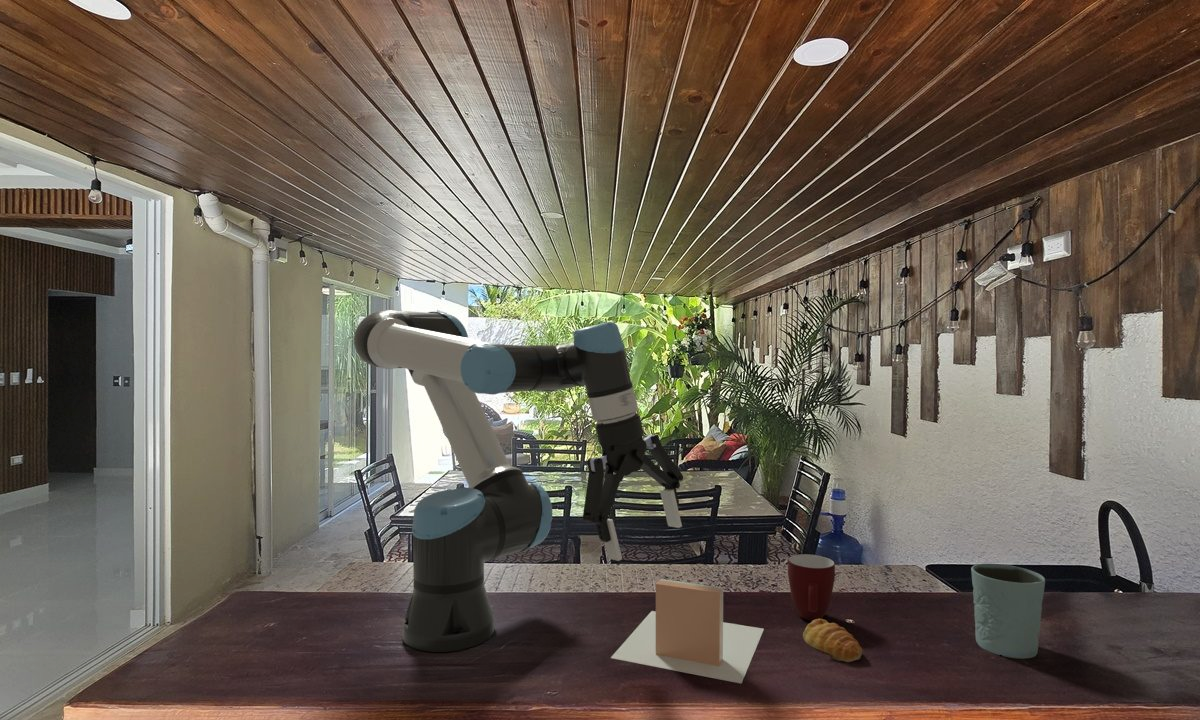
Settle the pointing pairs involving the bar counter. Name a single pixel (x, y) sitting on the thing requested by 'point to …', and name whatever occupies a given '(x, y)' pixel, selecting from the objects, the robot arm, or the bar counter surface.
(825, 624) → the pastry
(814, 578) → the mug
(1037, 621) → the green ceramic cup
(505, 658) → the bar counter surface
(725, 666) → the mat
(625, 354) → the robot arm
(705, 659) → the tile
